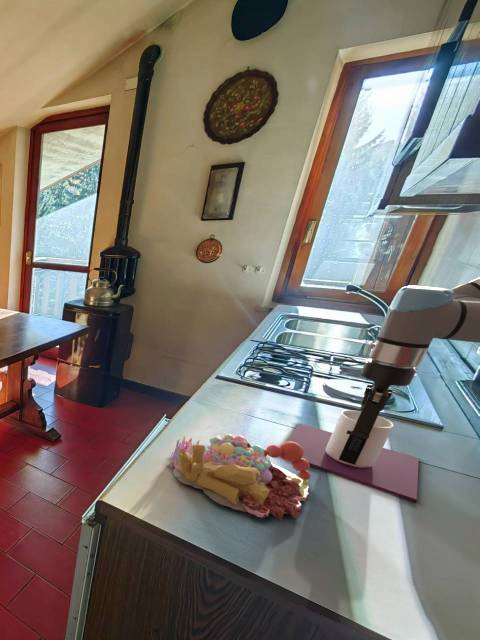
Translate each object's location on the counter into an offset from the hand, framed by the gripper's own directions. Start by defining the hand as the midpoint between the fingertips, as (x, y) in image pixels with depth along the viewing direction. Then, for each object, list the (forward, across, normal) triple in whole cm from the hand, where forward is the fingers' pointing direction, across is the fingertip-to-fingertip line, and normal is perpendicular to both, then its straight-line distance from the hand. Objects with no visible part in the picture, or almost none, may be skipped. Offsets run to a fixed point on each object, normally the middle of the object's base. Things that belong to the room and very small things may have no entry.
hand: (350, 451), depth 89 cm
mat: (+2, 0, 0) cm, 2 cm away
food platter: (+2, +30, -15) cm, 34 cm away
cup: (+1, 0, 0) cm, 1 cm away
